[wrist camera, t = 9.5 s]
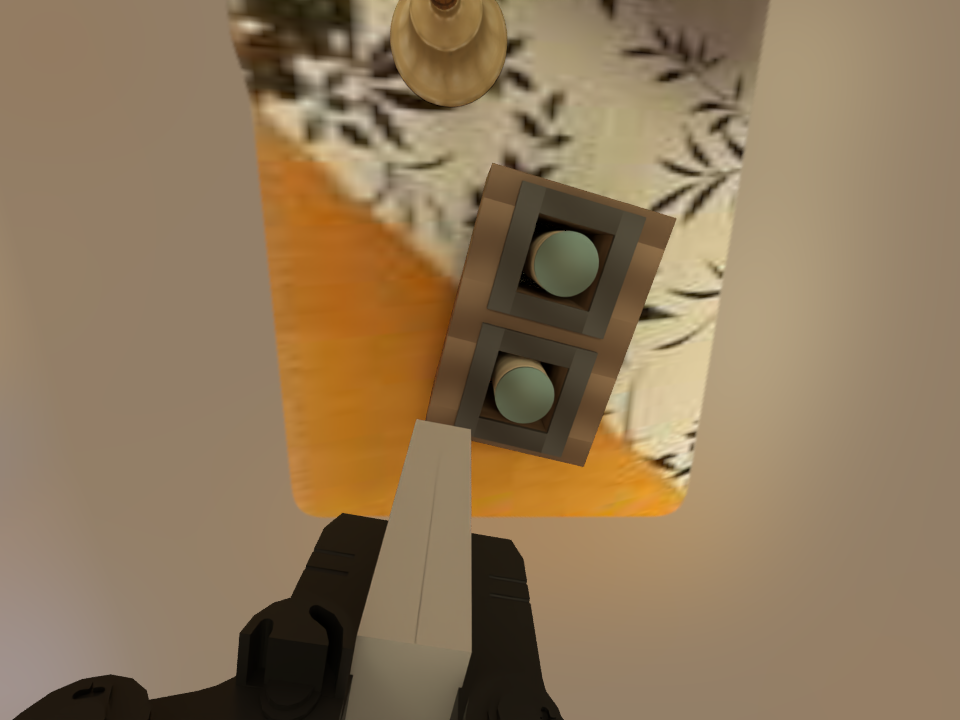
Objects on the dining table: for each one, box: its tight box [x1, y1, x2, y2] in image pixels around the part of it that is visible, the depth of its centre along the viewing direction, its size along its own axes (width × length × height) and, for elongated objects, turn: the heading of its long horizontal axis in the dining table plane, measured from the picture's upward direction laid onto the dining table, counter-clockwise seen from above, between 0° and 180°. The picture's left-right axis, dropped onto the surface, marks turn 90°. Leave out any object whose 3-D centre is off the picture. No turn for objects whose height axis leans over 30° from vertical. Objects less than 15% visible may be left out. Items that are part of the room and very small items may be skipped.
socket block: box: [425, 163, 677, 467], centre depth 33 cm, size 18×12×8 cm, turn 165°
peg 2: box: [523, 231, 599, 297], centre depth 32 cm, size 4×4×8 cm
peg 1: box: [491, 351, 554, 424], centre depth 34 cm, size 4×4×8 cm
